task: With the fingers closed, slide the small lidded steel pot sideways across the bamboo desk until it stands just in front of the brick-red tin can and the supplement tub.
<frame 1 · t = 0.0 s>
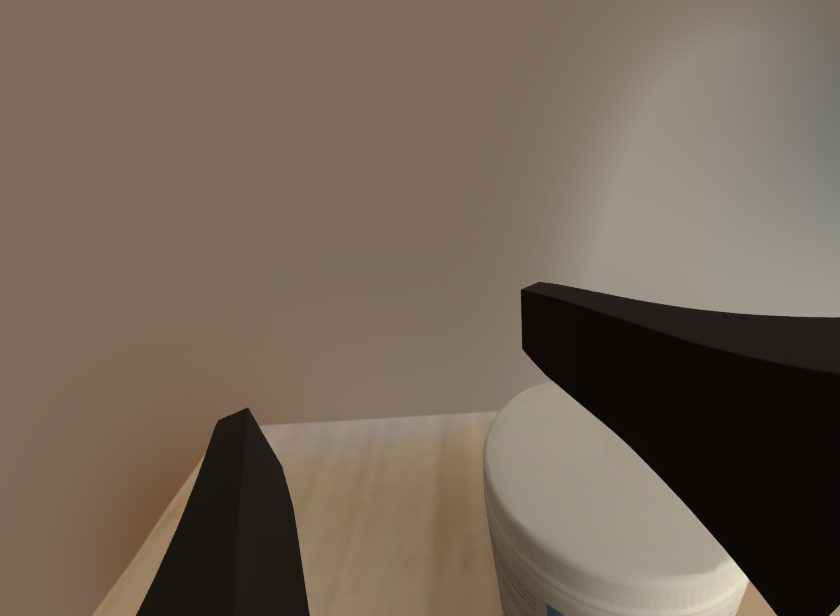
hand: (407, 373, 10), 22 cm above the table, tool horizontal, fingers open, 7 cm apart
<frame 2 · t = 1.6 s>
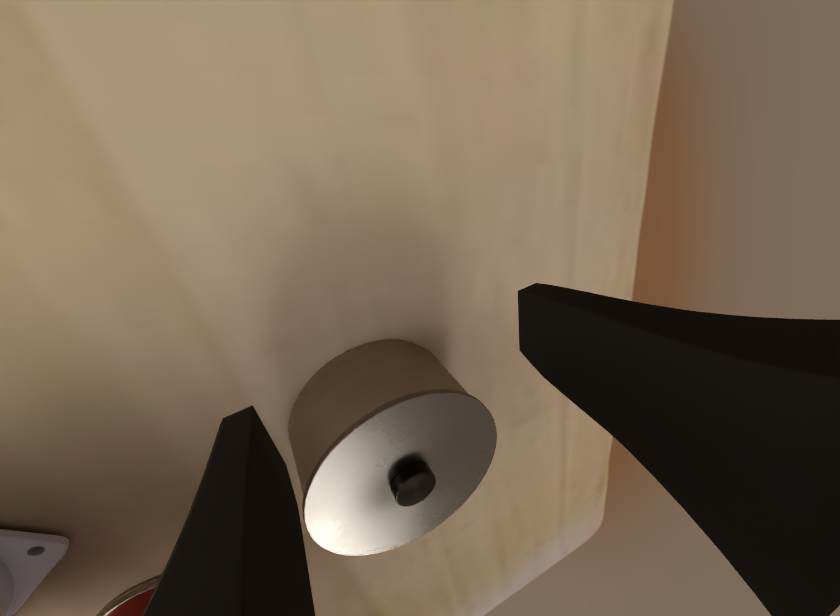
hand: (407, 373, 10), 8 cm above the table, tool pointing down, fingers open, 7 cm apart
tin can: (168, 614, 21), on the table
steel pot: (373, 411, 21), on the table
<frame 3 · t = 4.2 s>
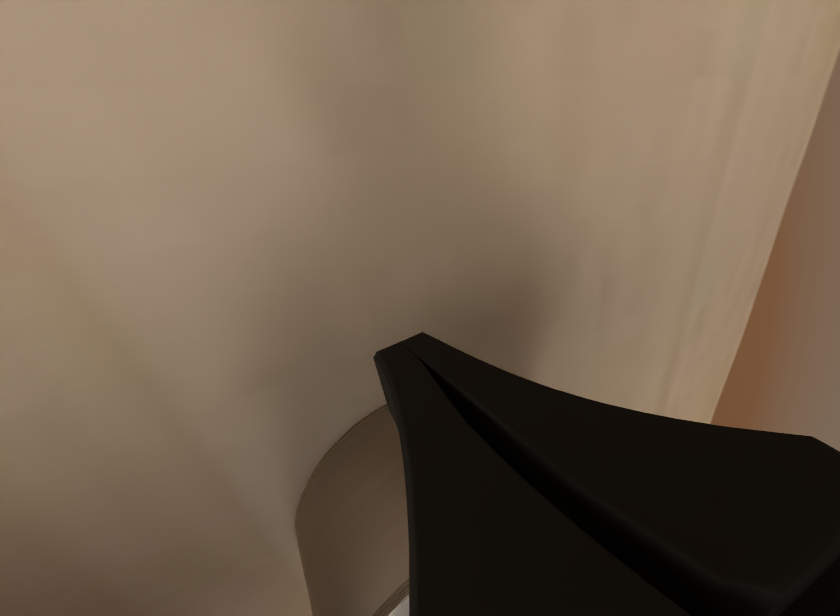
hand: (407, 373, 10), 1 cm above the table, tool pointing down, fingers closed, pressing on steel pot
steel pot: (421, 483, 14), on the table, touching gripper
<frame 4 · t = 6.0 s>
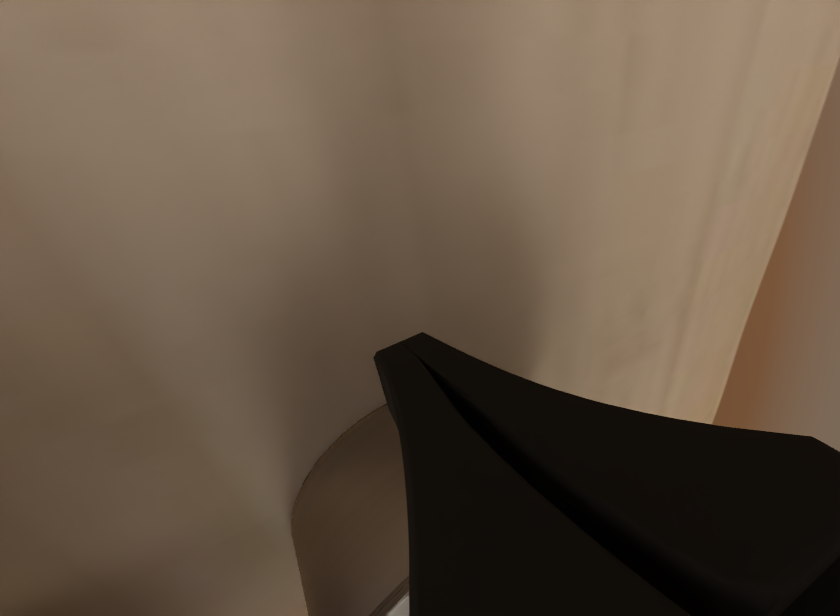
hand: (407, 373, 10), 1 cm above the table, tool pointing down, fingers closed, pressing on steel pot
steel pot: (418, 484, 14), on the table, touching gripper
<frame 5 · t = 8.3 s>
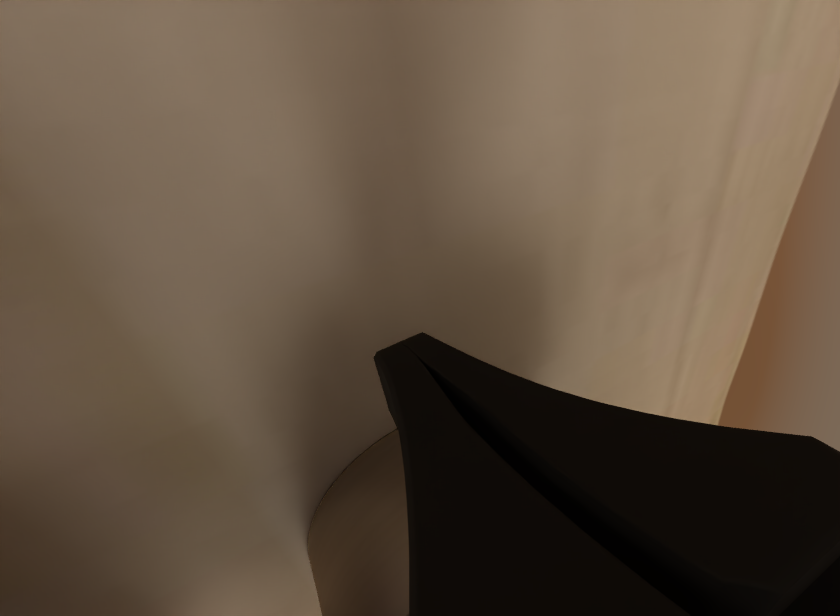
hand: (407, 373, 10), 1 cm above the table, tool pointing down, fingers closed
steel pot: (427, 501, 15), on the table
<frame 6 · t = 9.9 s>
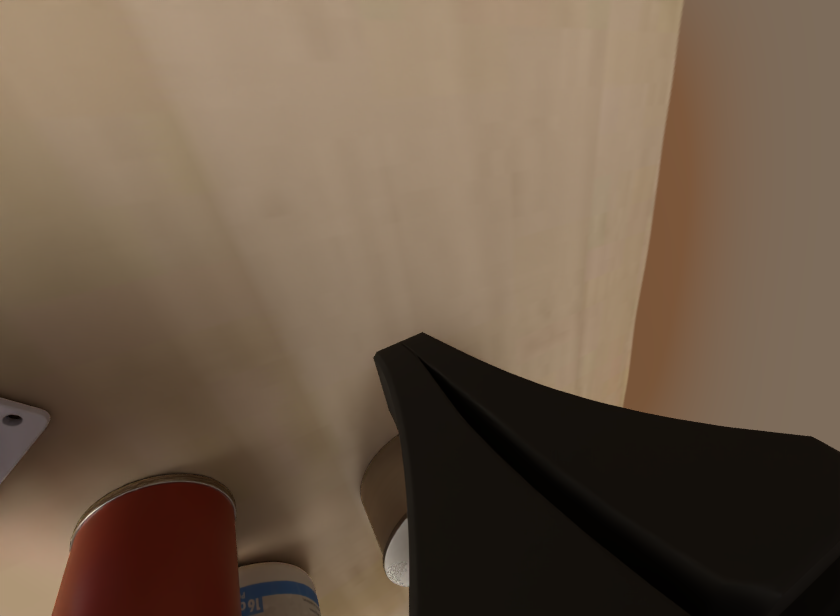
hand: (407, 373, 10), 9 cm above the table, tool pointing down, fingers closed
tin can: (161, 525, 20), on the table
supplement tub: (235, 605, 25), on the table
steel pot: (422, 469, 27), on the table
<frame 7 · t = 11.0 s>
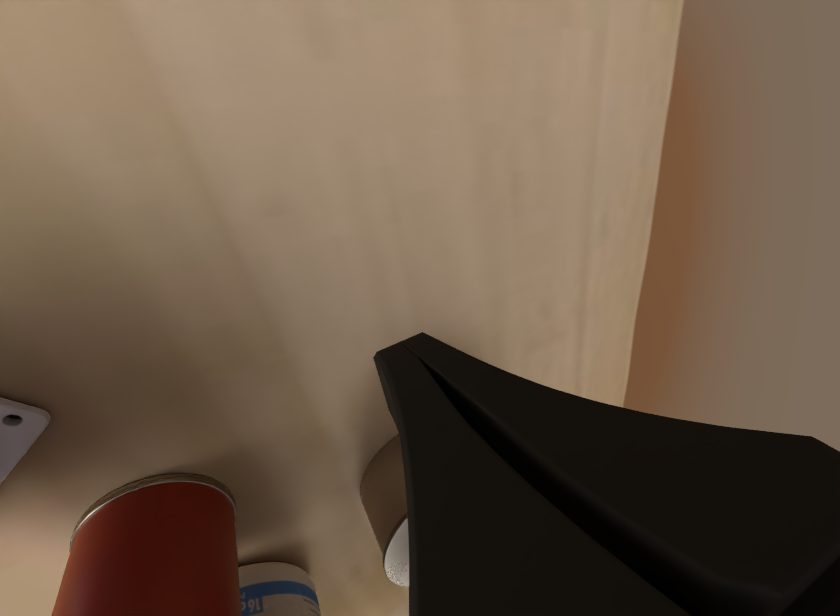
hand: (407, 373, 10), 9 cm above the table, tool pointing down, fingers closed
tin can: (161, 525, 20), on the table
supplement tub: (235, 605, 25), on the table
steel pot: (422, 469, 27), on the table
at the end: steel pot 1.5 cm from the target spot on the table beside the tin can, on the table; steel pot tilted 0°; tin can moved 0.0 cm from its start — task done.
